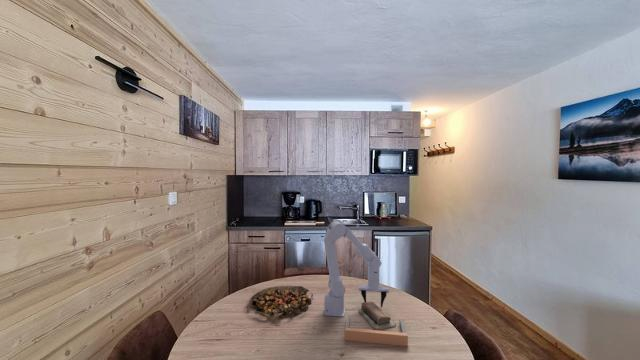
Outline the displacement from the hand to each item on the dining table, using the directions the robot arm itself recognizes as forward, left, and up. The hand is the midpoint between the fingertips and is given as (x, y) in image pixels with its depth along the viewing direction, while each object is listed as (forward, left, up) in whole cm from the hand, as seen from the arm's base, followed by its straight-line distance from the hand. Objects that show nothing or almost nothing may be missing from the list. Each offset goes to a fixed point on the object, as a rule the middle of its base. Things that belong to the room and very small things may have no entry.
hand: (373, 306), depth 135 cm
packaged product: (+1, -9, -2) cm, 10 cm away
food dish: (-47, -2, -2) cm, 47 cm away
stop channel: (0, -20, -1) cm, 20 cm away
